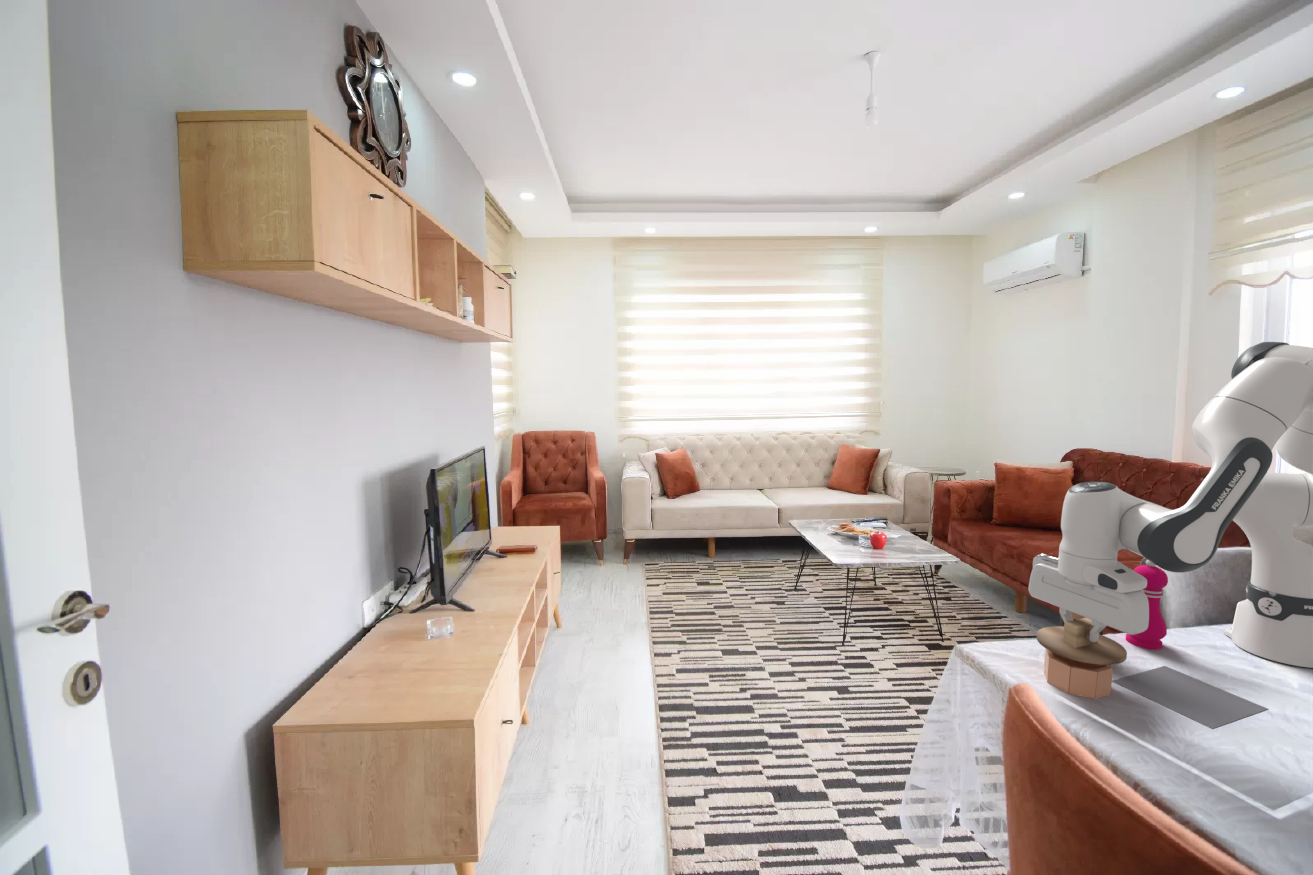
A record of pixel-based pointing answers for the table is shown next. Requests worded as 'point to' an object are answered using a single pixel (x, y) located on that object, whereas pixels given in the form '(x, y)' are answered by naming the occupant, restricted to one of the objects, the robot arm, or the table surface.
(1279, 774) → the table surface
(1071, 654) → the lid
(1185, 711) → the mat
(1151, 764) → the table surface
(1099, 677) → the bowl
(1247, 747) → the table surface
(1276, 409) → the robot arm
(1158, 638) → the pepper mill
